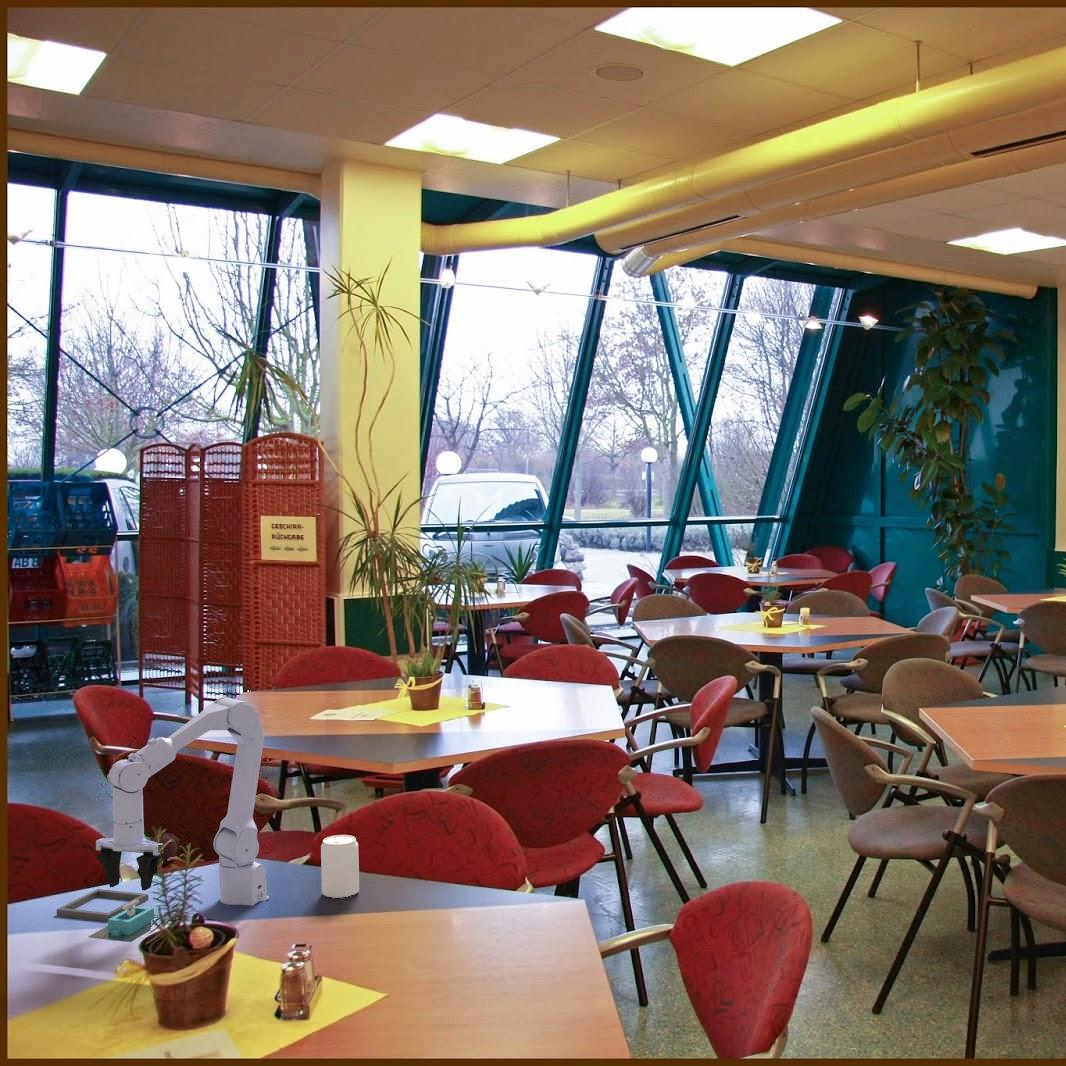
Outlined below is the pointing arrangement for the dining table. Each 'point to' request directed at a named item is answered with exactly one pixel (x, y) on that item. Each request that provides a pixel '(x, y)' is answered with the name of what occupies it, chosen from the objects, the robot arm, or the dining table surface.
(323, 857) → the beverage can
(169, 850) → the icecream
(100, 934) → the stand
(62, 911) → the tray
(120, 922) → the teal open-top box
